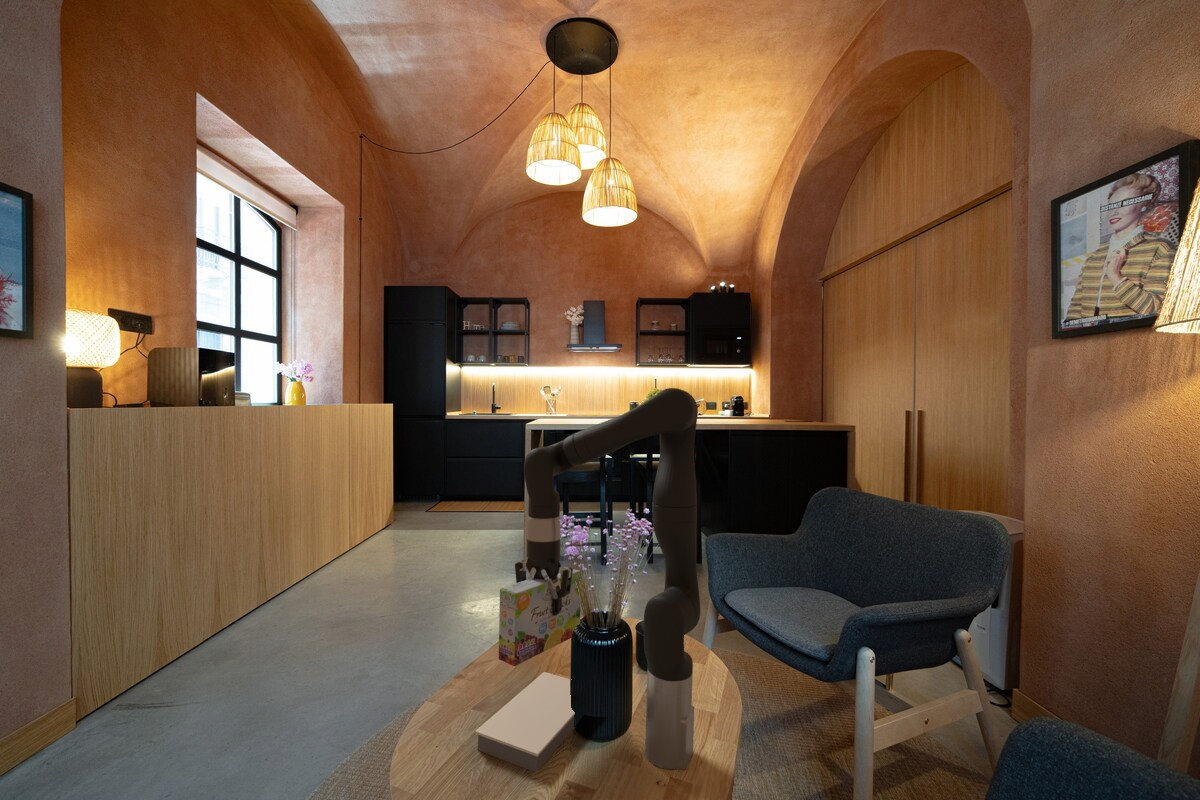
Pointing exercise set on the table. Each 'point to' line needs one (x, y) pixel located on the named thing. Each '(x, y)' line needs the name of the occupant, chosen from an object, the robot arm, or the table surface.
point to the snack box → (535, 618)
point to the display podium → (530, 723)
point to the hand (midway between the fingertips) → (542, 611)
